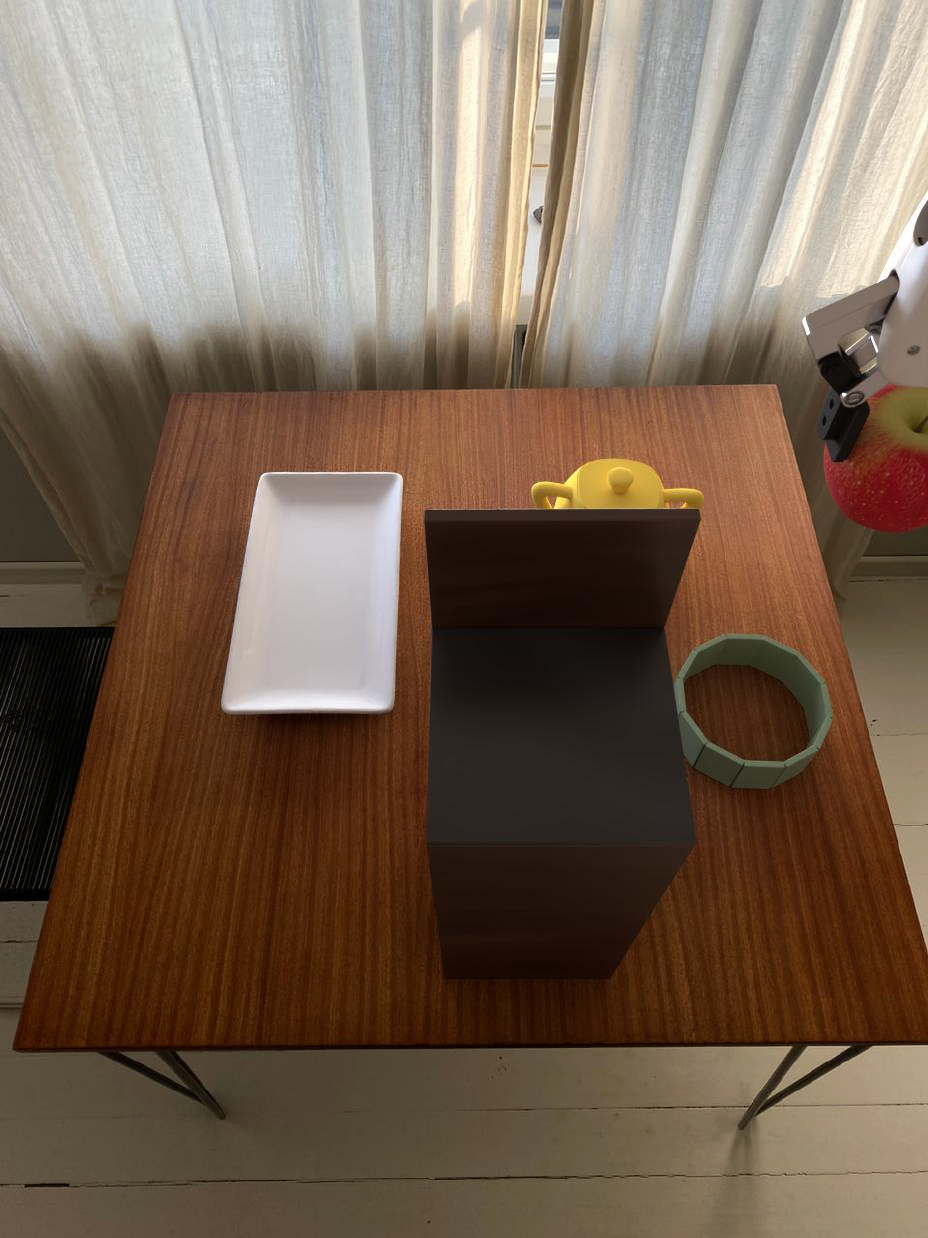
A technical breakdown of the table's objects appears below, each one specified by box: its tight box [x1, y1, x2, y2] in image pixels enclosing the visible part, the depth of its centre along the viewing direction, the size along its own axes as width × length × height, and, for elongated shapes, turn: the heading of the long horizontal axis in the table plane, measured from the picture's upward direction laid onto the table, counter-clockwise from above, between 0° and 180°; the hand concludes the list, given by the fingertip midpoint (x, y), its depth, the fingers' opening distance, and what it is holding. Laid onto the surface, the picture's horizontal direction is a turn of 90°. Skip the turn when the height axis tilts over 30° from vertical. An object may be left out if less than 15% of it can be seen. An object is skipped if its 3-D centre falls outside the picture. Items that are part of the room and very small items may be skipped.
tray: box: [220, 471, 404, 715], centre depth 94 cm, size 17×32×4 cm, turn 0°
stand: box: [423, 507, 702, 980], centre depth 59 cm, size 14×14×44 cm
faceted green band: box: [673, 633, 834, 790], centre depth 84 cm, size 14×14×5 cm
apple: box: [823, 383, 928, 534], centre depth 50 cm, size 8×8×10 cm
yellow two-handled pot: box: [530, 458, 705, 510], centre depth 93 cm, size 14×14×12 cm
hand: (910, 443), depth 49 cm, fingers closed on apple, 8 cm apart
